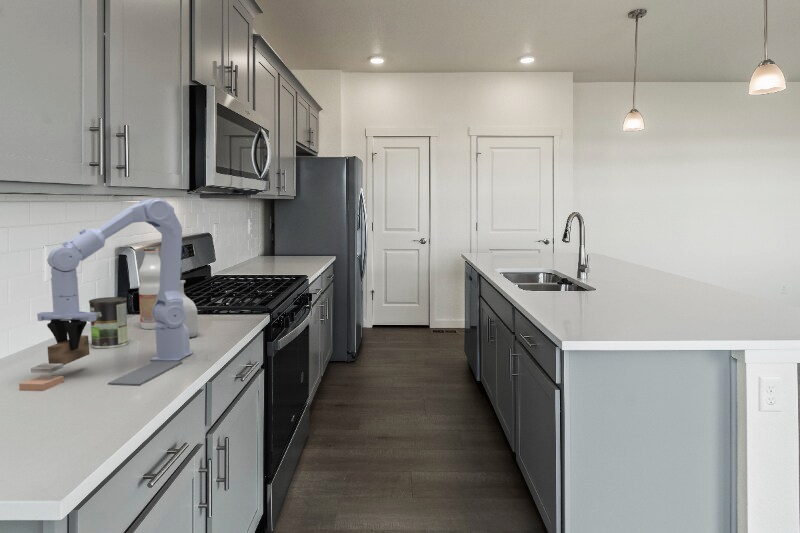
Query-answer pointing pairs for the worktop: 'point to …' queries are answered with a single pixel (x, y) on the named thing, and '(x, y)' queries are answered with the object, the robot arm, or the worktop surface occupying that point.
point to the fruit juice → (149, 286)
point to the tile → (41, 383)
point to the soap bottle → (189, 311)
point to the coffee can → (109, 322)
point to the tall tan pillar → (62, 355)
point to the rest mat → (145, 373)
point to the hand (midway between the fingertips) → (68, 349)
